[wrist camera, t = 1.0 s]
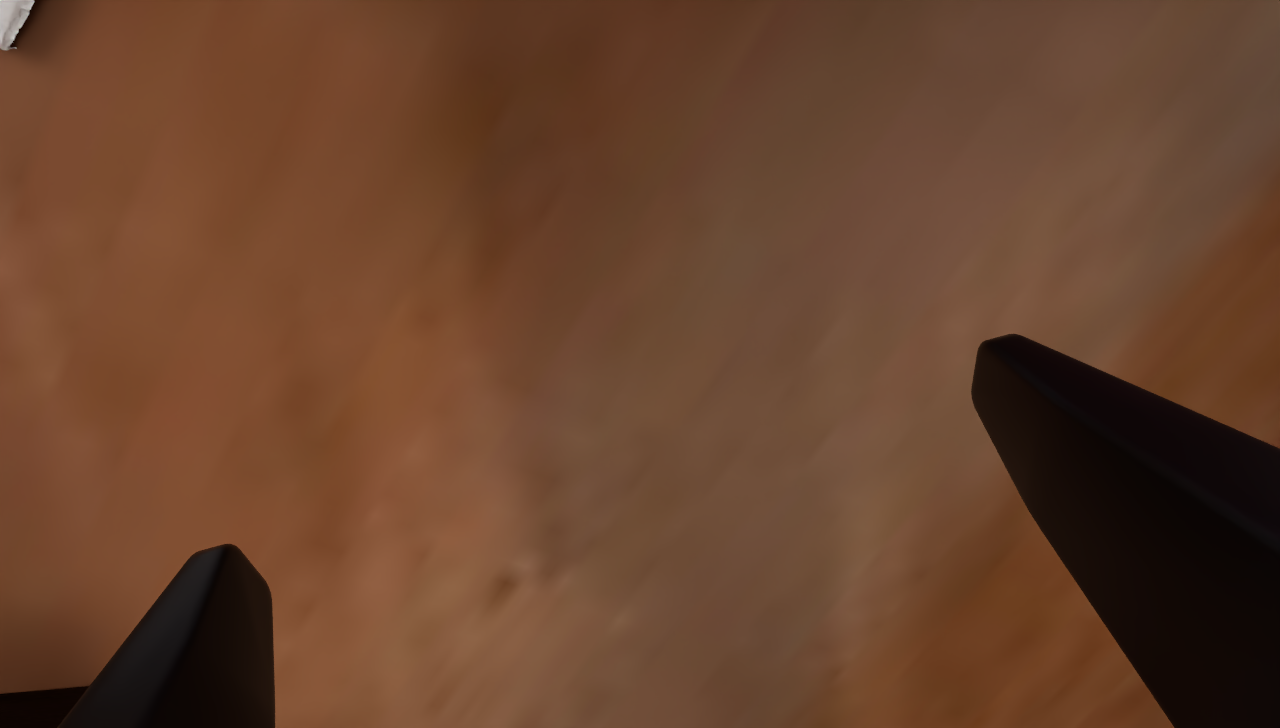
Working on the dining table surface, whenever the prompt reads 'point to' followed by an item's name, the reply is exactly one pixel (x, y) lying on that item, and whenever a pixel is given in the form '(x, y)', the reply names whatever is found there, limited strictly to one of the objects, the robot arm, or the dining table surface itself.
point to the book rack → (38, 707)
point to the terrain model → (12, 20)
